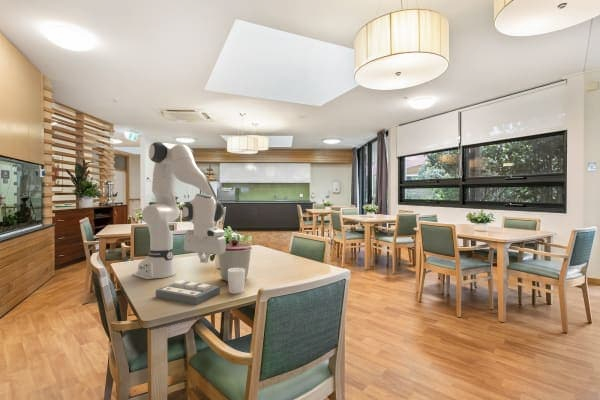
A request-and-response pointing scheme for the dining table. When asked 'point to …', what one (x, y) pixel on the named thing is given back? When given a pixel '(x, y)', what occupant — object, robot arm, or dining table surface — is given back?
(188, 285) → the middle button
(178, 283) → the button
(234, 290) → the white cup
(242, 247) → the canister
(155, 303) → the dining table surface
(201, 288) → the button
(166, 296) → the button panel
